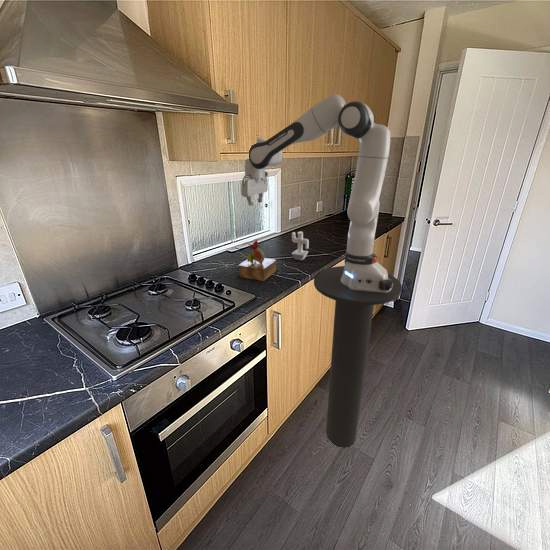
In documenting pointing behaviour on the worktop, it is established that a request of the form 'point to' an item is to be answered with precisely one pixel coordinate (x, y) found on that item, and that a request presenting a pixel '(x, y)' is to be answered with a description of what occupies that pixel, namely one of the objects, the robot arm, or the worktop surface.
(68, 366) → the worktop surface
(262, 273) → the wooden block
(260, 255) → the bird rattle
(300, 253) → the figurine
